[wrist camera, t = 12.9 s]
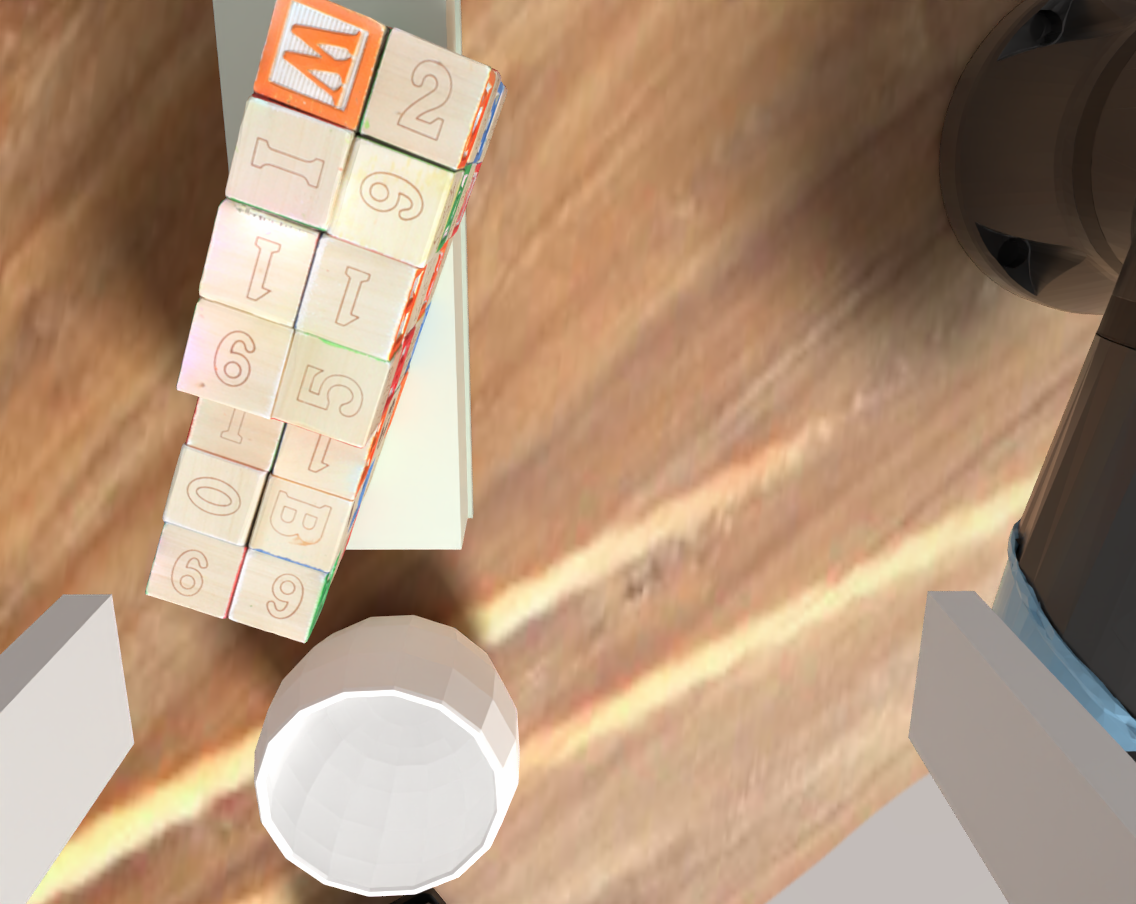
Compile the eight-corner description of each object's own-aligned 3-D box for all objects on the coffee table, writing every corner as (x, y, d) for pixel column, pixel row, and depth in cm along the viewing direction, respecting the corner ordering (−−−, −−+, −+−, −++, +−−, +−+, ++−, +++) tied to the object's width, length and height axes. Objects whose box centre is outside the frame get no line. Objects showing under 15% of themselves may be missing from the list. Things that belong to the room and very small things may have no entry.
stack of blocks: (351, 548, 45) (283, 693, 33) (217, 503, 44) (100, 636, 33) (510, 85, 39) (495, 64, 27) (359, 24, 38) (278, -25, 27)
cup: (334, 799, 55) (292, 932, 46) (262, 607, 51) (201, 710, 42) (546, 752, 55) (547, 877, 45) (490, 555, 51) (478, 648, 42)
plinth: (460, -11, 43) (450, -29, 38) (473, 513, 50) (465, 553, 45) (242, -13, 42) (204, -32, 38) (287, 513, 50) (261, 553, 45)
